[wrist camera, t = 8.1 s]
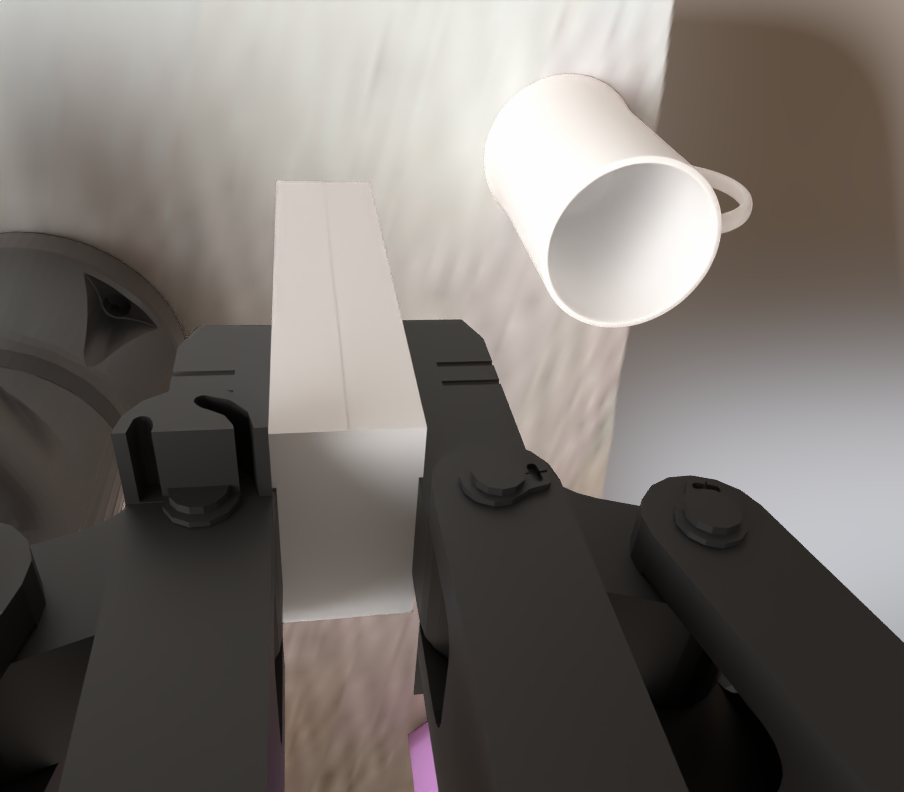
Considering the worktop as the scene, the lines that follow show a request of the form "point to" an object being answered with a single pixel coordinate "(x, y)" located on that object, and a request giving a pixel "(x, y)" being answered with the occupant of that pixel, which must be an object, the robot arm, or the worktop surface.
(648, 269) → the mug
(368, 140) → the worktop surface
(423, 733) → the teapot
